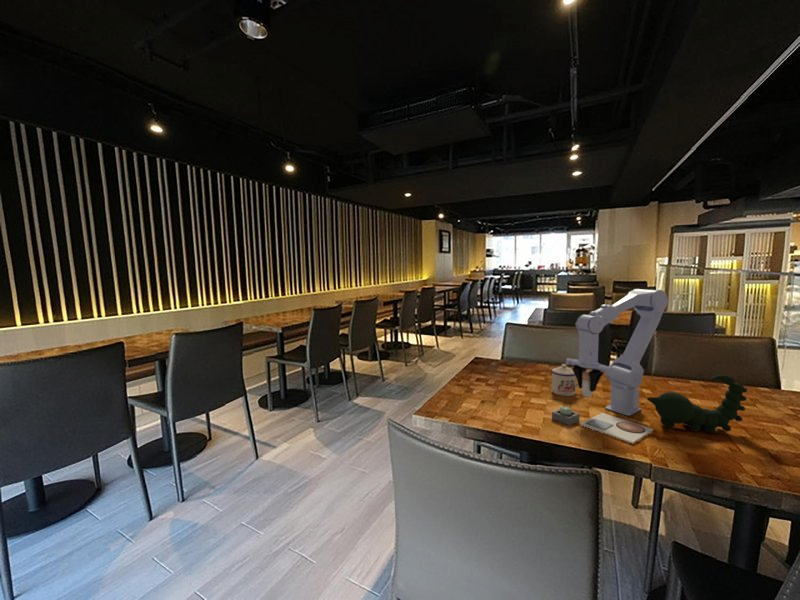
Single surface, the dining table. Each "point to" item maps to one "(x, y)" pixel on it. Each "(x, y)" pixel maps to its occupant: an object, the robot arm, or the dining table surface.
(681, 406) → the toy figurine
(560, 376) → the teacup with lid
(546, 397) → the dining table surface
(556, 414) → the button housing
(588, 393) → the small capped bottle
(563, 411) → the button
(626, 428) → the picture board
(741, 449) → the dining table surface
